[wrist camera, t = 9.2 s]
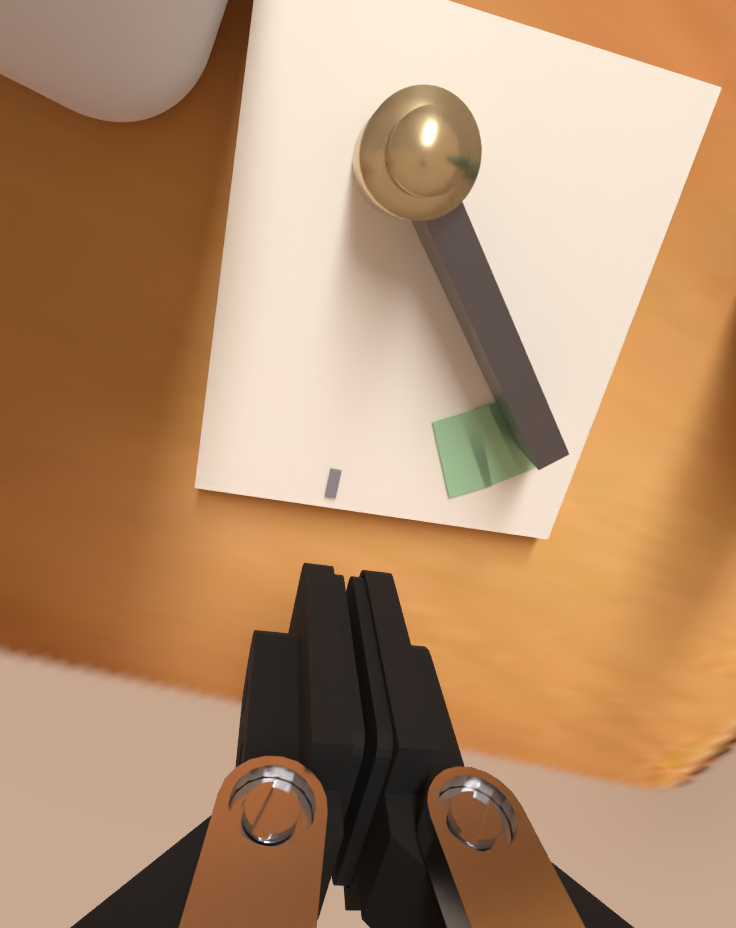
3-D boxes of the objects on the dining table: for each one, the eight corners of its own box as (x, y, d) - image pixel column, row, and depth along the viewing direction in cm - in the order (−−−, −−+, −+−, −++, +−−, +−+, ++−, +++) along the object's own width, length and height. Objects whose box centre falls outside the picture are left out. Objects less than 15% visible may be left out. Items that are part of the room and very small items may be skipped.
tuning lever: (333, 137, 24) (343, 120, 19) (427, 80, 24) (462, 47, 19) (490, 456, 31) (527, 504, 26) (566, 416, 31) (619, 457, 26)
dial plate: (263, -44, 23) (260, -62, 22) (700, 93, 27) (724, 86, 26) (198, 475, 32) (193, 489, 30) (538, 526, 36) (549, 541, 34)
